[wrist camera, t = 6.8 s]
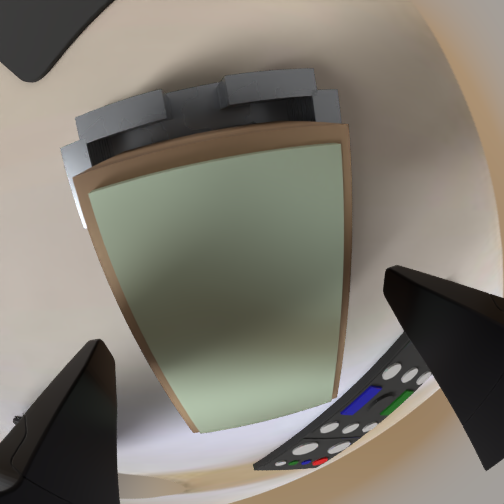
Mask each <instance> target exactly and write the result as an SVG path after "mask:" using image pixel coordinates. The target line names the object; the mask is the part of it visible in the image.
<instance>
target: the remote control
mask: <svg viewBox="0 0 504 504" xmlns="http://www.w3.org/2000/svg"><path fill="white" fill-rule="evenodd" d="M431 375H432V373H431V371H430V370H429V368H428V367H427V365H426V363H425V362H424V360H423V359H422V357H421V356H420V354H419V353H418V351H417V350H416V348H415V347H414V345H413V344H412V342H411V341H410V339H409V338H408V336H407V335H406V333H405V332H403V334H402V335H401V336H400V337H399V338H398V339H397V340H396V342H395V343H394V344H393V345H392V346H391V347H390V348H389V349H388V351H387V352H386V353H385V354H384V355H383V356H382V357H381V358H380V359H379V360H378V361H377V362H376V363H375V364H374V366H373V367H372V368H371V369H370V370H369V371H368V372H367V373H366V374H365V375H364V376H363V377H362V378H361V379H360V380H359V381H358V382H357V383H356V384H354V385H353V386H352V387H351V388H350V389H349V390H348V391H347V392H346V393H345V394H344V395H343V396H342V397H341V398H339V399H338V400H337V401H336V402H335V403H334V404H333V405H332V406H330V407H329V408H328V409H327V410H326V411H325V412H323V413H322V414H321V415H320V416H319V417H318V418H316V419H315V420H314V421H313V422H311V423H310V424H309V425H308V426H306V427H305V428H304V429H303V430H301V431H300V432H299V433H297V434H296V435H295V436H294V437H292V438H291V439H290V440H288V441H287V442H285V443H284V444H283V445H281V446H280V447H279V448H277V449H276V450H274V451H273V452H271V453H270V454H268V455H267V456H266V457H264V458H263V459H261V460H260V461H258V462H256V463H255V464H253V467H254V470H291V469H306V468H316V467H318V466H320V465H321V464H323V463H325V462H326V461H328V460H330V459H331V458H333V457H334V456H336V455H337V454H339V453H340V452H342V451H343V450H344V449H346V448H347V447H349V446H350V445H352V444H353V443H354V442H356V441H357V440H358V439H360V438H361V437H362V436H363V435H365V434H366V433H367V432H369V431H370V430H371V429H373V428H374V427H375V426H376V425H377V424H379V423H380V422H381V421H382V420H384V419H385V418H386V417H387V416H388V415H389V414H391V413H392V412H393V411H394V410H395V409H396V408H398V407H399V406H400V405H401V404H402V403H403V402H404V401H405V400H406V399H407V398H408V397H410V396H411V395H412V394H413V393H414V392H415V391H416V390H417V389H418V388H419V387H420V386H421V385H422V384H423V383H424V382H425V381H426V380H427V379H428V378H429V377H430V376H431Z"/></svg>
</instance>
